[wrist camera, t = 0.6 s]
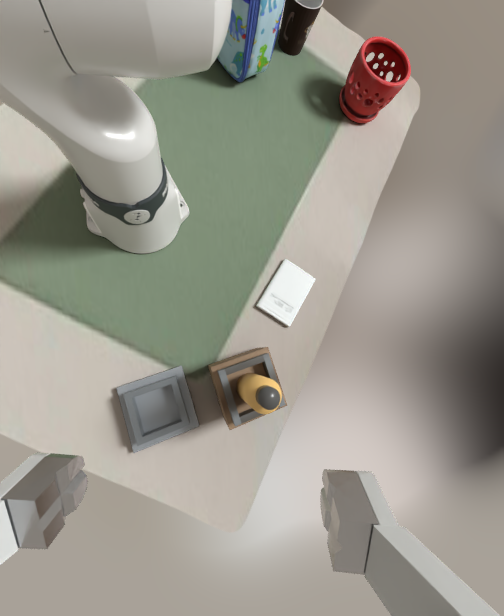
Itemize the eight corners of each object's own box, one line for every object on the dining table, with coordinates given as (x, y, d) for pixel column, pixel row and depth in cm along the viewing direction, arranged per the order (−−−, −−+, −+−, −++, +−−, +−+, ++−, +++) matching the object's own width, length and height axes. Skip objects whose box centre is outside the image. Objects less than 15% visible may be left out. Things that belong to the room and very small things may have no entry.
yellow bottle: (232, 378, 40) (247, 387, 29) (257, 368, 41) (280, 374, 30) (241, 405, 39) (258, 424, 29) (266, 395, 41) (292, 409, 30)
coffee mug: (293, 29, 68) (310, -25, 58) (310, 55, 67) (330, 5, 58) (258, 37, 64) (270, -19, 55) (276, 64, 64) (291, 13, 54)
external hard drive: (312, 281, 56) (287, 327, 53) (282, 260, 55) (255, 306, 52) (316, 279, 54) (290, 326, 51) (285, 258, 54) (257, 305, 50)
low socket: (118, 387, 43) (112, 389, 40) (181, 365, 46) (180, 366, 43) (134, 450, 42) (130, 458, 39) (199, 424, 45) (199, 429, 42)
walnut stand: (207, 365, 47) (211, 367, 37) (256, 348, 50) (271, 346, 40) (223, 417, 46) (231, 434, 36) (272, 397, 49) (291, 407, 39)
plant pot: (336, 81, 68) (365, 25, 56) (377, 100, 70) (413, 50, 59) (330, 118, 65) (359, 67, 53) (373, 137, 67) (410, 92, 56)
